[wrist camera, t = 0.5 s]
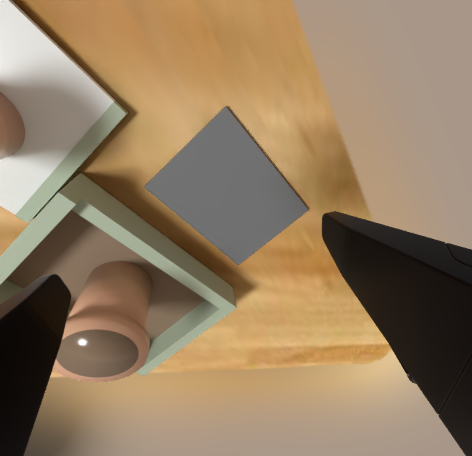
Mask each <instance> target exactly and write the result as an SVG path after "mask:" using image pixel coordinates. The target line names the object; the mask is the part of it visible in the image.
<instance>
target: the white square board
mask: <svg viewBox="0 0 472 456" xmlns="http://www.w3.org/2000/svg"><path fill="white" fill-rule="evenodd" d="M0 92H1V93H2V94H3V95H5V96H6V97H7V98H8V99H9V100H10V101H11V102H12V103H13V105H14V106H15V107H16V109H17V110H18V112H19V114H20V115H21V117H22V120H23V123H24V127H25V139H24V143H23V145H22V146H21V148H20V149H19V150H18V151H17V152H16V153H14V154H12V155H10V156H8V157H6V158H3V159H1V160H0V206H2V207H3V208H5V209H7V210H8V211H10V212H12V213H13V214H15V216H17V217H18V218H20V219H22V220H23V221H25V222H27V223H29V222H30V221H31V220H32V219H33V218H34V217H35V216H36V215H37V214H38V213H39V211H40V210H41V209H42V208H43V207H44V206H45V205H46V204H47V203H48V201H49V200H50V199H51V198H52V197H53V196H54V195H55V194H56V193H57V191H58V190H59V189H60V188H61V187H62V186H63V185H64V184H65V183H66V181H67V180H68V179H69V178H70V177H71V176H72V175H73V174H74V173H75V171H76V170H77V169H78V168H79V167H80V166H81V165H82V164H83V163H84V161H85V160H86V159H87V158H88V157H89V156H90V155H91V154H92V153H93V151H94V150H95V149H96V148H97V147H98V146H99V145H100V144H101V143H102V141H103V140H104V139H105V138H106V137H107V136H108V135H109V134H110V133H111V131H112V130H113V129H114V128H115V127H116V126H117V125H118V124H119V123H120V121H121V120H122V119H123V118H124V117H125V116H126V115H127V114H128V112H127V111H126V110H125V109H124V108H123V107H122V106H121V105H120V104H119V103H118V102H117V101H116V100H115V99H114V98H113V97H112V96H111V95H109V94H108V93H107V92H106V91H105V90H104V89H103V88H102V87H101V86H100V85H99V84H98V83H97V82H96V81H95V80H94V79H93V78H92V77H91V76H90V75H89V74H88V73H87V72H86V71H85V70H84V69H83V68H82V67H81V66H79V65H78V64H77V63H76V62H75V61H74V60H73V59H72V58H71V57H70V56H69V55H68V54H67V53H66V52H65V51H64V50H63V49H62V48H61V47H60V46H59V45H58V44H57V43H56V42H55V41H54V40H53V39H52V38H50V37H49V36H48V35H47V34H46V33H45V32H44V31H43V30H42V29H41V28H40V27H39V26H38V25H37V24H36V23H35V22H34V21H33V20H32V19H31V18H30V17H29V16H28V15H27V14H26V13H25V12H24V11H23V10H22V9H20V8H19V7H18V6H17V5H16V4H15V3H14V2H13V1H12V0H0Z"/></svg>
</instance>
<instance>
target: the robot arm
mask: <svg viewBox="0 0 472 456" xmlns="http://www.w3.org/2000/svg"><path fill="white" fill-rule="evenodd" d="M322 237H323V240H324V242H325V244H326V246H327V248H328V250H329V252H330V254H331V256H332V258H333V260H334V261H335V263H336V265H337V267H338V269H339V271H340V273H341V274H342V276H343V278H344V279H345V281H346V282H347V284H348V285H349V286H350V288H351V289H352V291H353V292H354V294H355V295H356V297H357V298H358V300H359V301H360V302H361V304H362V305H363V307H364V308H365V310H366V311H367V313H368V314H369V315H370V317H371V318H372V320H373V321H374V323H375V324H376V326H377V327H378V329H379V330H380V331H381V333H382V334H383V336H384V337H385V339H386V340H387V342H388V343H389V345H390V346H391V348H392V350H393V352H394V353H395V355H396V357H397V359H398V360H399V362H400V363H401V365H402V367H403V369H404V371H405V372H406V373H407V376H408V378H409V380H410V381H411V382H412V383H415V384H417V385H418V387H419V388H420V390H421V391H422V392H423V394H424V395H425V397H426V398H427V400H428V401H429V403H430V404H431V405H432V407H433V408H434V410H435V411H436V413H437V414H439V418H440V419H441V420H442V422H443V423H444V425H445V426H446V428H447V429H448V431H449V432H450V433H451V435H452V436H453V438H454V439H455V441H456V442H457V444H458V445H459V446H460V448H461V449H462V450H463V452H464V454H465V455H466V456H472V250H471V249H467V248H463V247H460V246H457V245H453V244H450V243H447V244H446V243H445V242H442V241H439V240H435V239H432V238H428V237H425V236H421V235H417V234H414V233H410V232H407V231H403V230H400V229H396V228H393V227H389V226H386V225H382V224H379V223H375V222H372V221H368V220H364V219H361V218H357V217H354V216H350V215H347V214H343V213H340V212H336V211H333V212H329V213H325V214H324V215H323V217H322ZM70 302H71V293H70V290H69V289H68V287H67V286H66V285H65V283H64V282H63V280H62V279H61V278H60V276H59V275H57V274H51V275H46V276H42V277H40V278H39V279H37V280H36V281H34V282H33V283H31V284H30V285H28V286H27V287H25V288H24V289H22V290H21V291H19V292H17V293H16V294H14V295H13V296H11V297H10V298H8V299H7V300H5V301H4V302H2V303H1V304H0V456H24V453H25V450H26V447H27V444H28V441H29V438H30V435H31V432H32V429H33V426H34V423H35V420H36V417H37V414H38V411H39V408H40V405H41V402H42V399H43V396H44V393H45V390H46V387H47V384H48V381H49V378H50V375H51V372H52V369H53V366H54V363H55V360H56V357H57V354H58V351H59V348H60V345H61V342H62V338H63V334H64V329H65V325H66V320H67V316H68V311H69V307H70Z"/></svg>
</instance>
